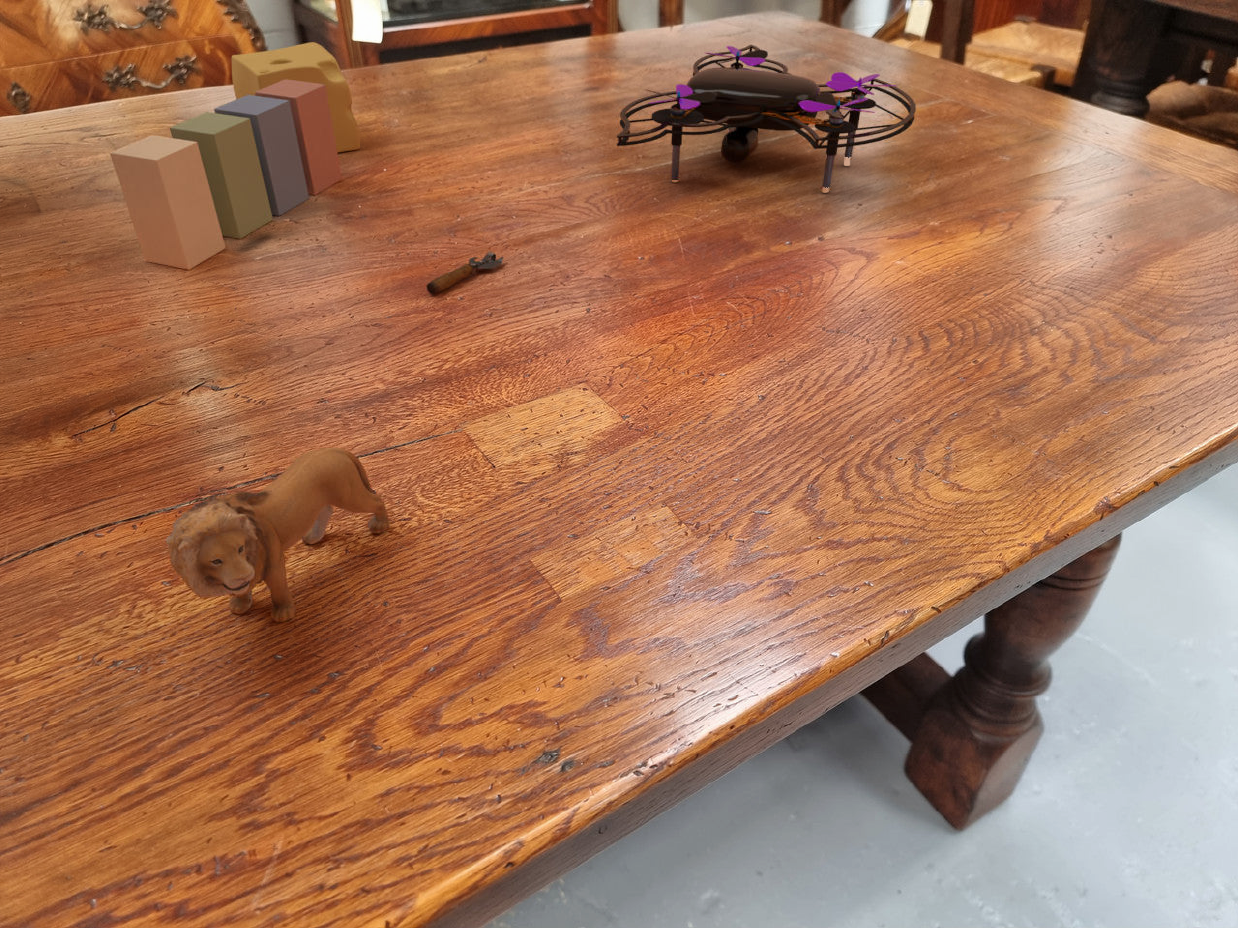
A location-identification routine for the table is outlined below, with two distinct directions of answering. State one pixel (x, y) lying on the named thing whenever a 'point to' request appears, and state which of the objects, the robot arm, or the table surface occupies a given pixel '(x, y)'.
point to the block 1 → (169, 200)
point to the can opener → (462, 272)
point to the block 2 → (230, 170)
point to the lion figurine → (269, 528)
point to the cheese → (306, 67)
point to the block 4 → (310, 130)
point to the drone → (764, 108)
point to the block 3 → (274, 148)
